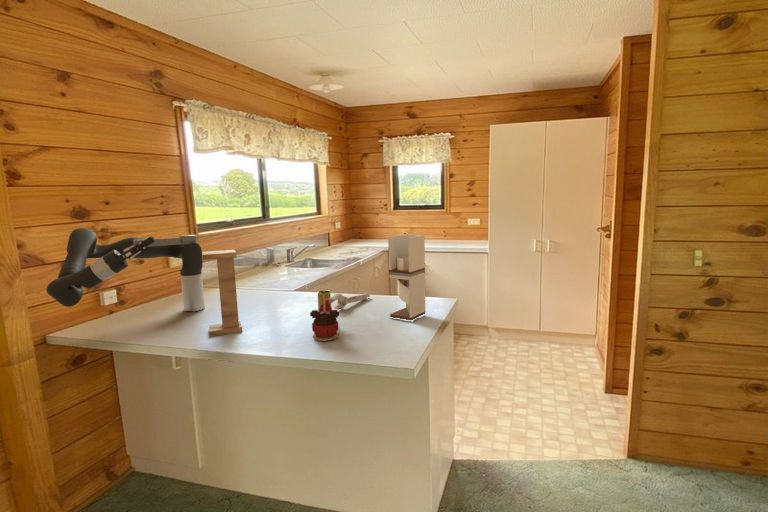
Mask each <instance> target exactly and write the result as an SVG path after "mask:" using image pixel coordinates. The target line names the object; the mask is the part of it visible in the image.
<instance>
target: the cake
mask: <svg viewBox="0 0 768 512" xmlns="http://www.w3.org/2000/svg"><path fill="white" fill-rule="evenodd" d="M334 302H335V301H334V298H333V297H331V298H330V299H327V300H325V291H323V303H322V304H321V305H320V308H319V311H318V309H315V310H314V309H312V311H310V313H309V315H310V317H311V318H312V319H313V322H312V323H311V328H312V332H313V335H312V338H313V339H314V340H316V341H320V342H325V341H327V340H328V341H332V340H335V339H336V338H338V337H339V334H340V333H338V330H339V321H338V320H337V319H338V318H339V316H340V311H338V309H333V308H331V306H332V305H331V306H330V303H331V304H333V303H334Z"/></svg>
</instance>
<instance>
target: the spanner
mask: <svg viewBox="0 0 768 512" xmlns="http://www.w3.org/2000/svg"><path fill="white" fill-rule="evenodd" d="M144 240H146V239H141V240H133V244H134V245H136V244H139V243H140V242H141V243H142V242H143V241H144ZM195 243H198V239H197V234H183V235H179V236H176V237H162V238H161V237H160V238H158V237H157V238H155V239H154V242H153V243H152V244H150V245H148V246H147V247H150V246H165V245H179V244H195Z"/></svg>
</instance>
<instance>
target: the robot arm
mask: <svg viewBox="0 0 768 512" xmlns="http://www.w3.org/2000/svg"><path fill="white" fill-rule="evenodd" d="M141 239H146V240H144V241H143V242H142V243H141V242H140V243H139V244H136V245H134V244H133V240H141ZM154 239H156V238H155V237H154V236H153V235H151V236H149V237H139V236H138V237H137V236H131V237H126V238H124V239H120V240H118V241H115V242H113V243H108V244H97V243H98V237H97V234H96V232H94V231H93V230H91V229H89V228H84V227H83V228H82V227H80V228H76V229H73V230H72V231H71V232H70V235H69V237H68V242H67V246H66V253H67V254H66V257H65V259H64V261H63V262H62V266H61V268H60V271H59V273H58V275H57V278H56V279H54V280H52V281H51V282H49V284H48V285H47V286H46V293H47V294H48V295H49V296H50V297H51V298H52V299H54V300H55V301H56V302H58V303H59V304H60V305H61V306H63V307H67V308H68V307H69V308H71V307H74V306H75V305H77V304H79V303H80V301H81V300H82V297H83V296H84V295H83V294H84V293H83V292H84V289H83V288H86V289H88V290H89V289H92V288H95V287H96V286H97V285H100V283H103V282H104V281H106V280H108V279H110V278H112V277H114V276H115V275H117V274H119V273H120V272H122V271H124V270H125V269H127V268H128V267H129V264H128V262H127V260H128V259H129V260H132V259H155V258H164V257H165V258H166V257H167V258H176V259H181V261H182V263H181V265H182V266H181V268H180V270H179V272H180V273H179V274H180V282H181V283H180V284H181V292H182V301H183V303H182V304H183V311H184V312H186V311H193V312H198V311H202V309H203V310H205V309H206V307H205V306H206V305H205V294H204V285H203V283H204V282H203V272H202V270H203V266H204V265H203V264H204V263H203V250H202V247H201V245H200V244H199V242H197V243H195V244H179V245H165V246H150V247H147V246H148V245H150V244H152V243H153V242H154ZM88 259H96V260H95V261H93V262H92V263H90V265H87V266H86V264H87V260H88Z"/></svg>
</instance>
